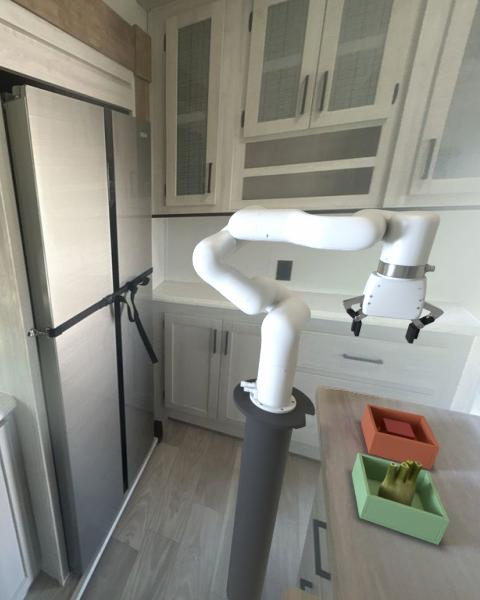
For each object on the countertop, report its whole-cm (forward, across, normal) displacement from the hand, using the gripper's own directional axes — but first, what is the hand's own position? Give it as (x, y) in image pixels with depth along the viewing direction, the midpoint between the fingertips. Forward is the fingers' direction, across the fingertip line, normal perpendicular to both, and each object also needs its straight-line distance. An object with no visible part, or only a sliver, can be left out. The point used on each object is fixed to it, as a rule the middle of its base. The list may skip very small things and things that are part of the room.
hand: (381, 337), depth 79 cm
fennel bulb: (+28, -3, +23) cm, 36 cm away
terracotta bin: (+28, -7, +3) cm, 29 cm away
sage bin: (+28, -3, +23) cm, 37 cm away
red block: (+28, -7, +3) cm, 29 cm away
